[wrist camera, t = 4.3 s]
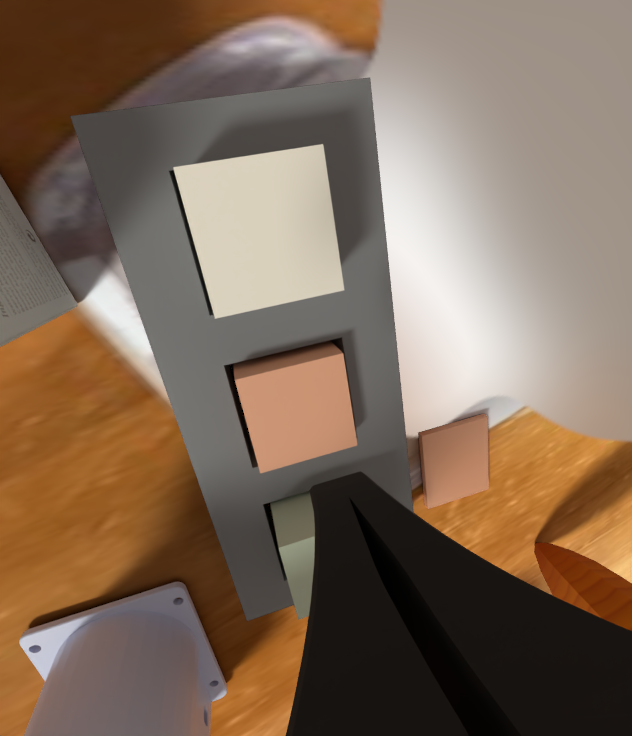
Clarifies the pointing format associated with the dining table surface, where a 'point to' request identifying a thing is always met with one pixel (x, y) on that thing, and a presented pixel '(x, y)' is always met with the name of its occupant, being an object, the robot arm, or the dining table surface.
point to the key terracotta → (296, 404)
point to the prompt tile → (454, 460)
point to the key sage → (296, 546)
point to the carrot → (586, 584)
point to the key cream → (262, 228)
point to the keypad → (262, 326)
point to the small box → (26, 275)
